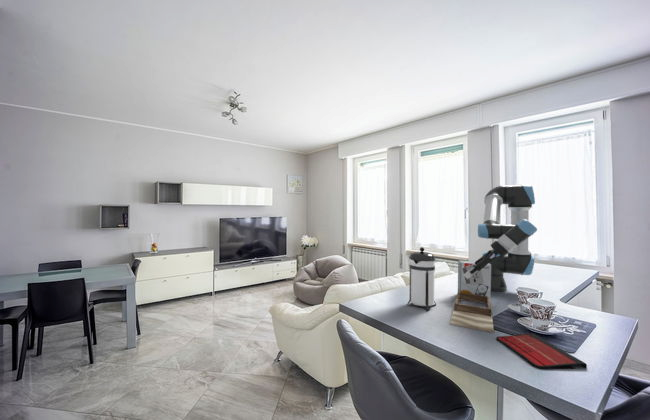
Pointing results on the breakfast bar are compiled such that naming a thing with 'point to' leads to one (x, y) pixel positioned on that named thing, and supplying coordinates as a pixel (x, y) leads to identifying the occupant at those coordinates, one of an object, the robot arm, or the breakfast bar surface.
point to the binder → (540, 352)
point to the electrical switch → (473, 276)
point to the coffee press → (422, 279)
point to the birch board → (472, 321)
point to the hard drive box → (478, 288)
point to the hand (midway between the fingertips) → (465, 274)
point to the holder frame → (473, 308)
